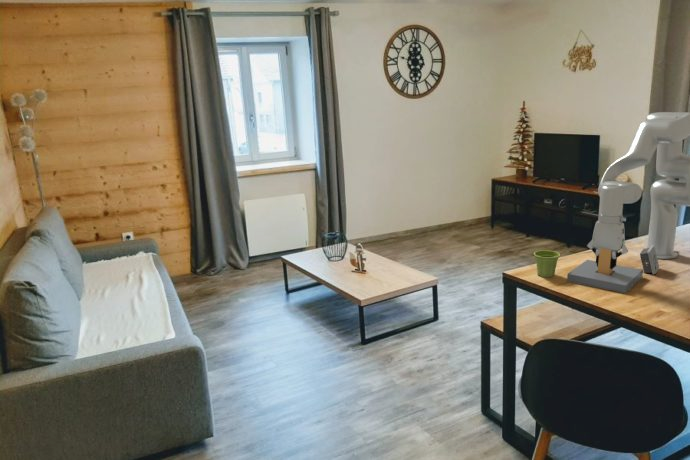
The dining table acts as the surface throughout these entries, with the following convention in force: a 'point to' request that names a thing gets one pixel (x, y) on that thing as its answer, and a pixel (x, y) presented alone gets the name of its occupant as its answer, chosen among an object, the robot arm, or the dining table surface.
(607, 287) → the socket plate
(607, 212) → the robot arm
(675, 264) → the dining table surface
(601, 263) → the plug
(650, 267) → the electrical switch
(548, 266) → the plant pot
